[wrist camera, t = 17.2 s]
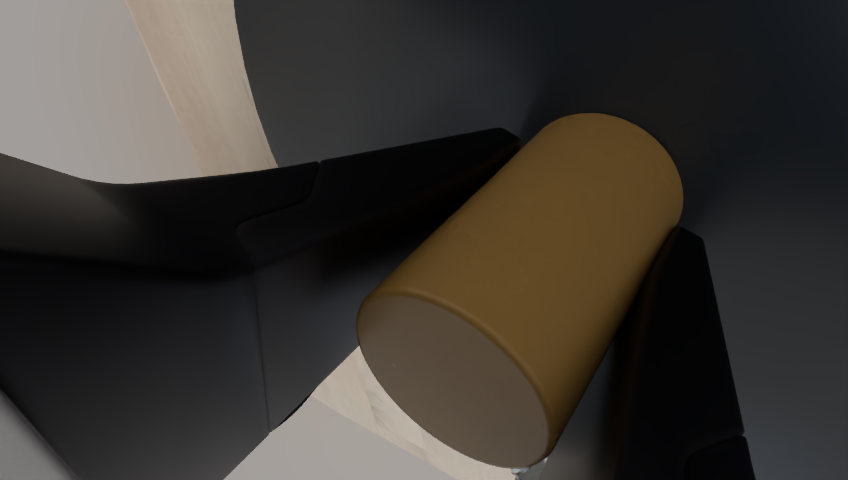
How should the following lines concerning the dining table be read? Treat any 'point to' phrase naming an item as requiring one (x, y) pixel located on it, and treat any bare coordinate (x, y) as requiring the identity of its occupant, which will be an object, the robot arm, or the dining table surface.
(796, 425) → the pot lid
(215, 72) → the dining table surface
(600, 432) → the robot arm
